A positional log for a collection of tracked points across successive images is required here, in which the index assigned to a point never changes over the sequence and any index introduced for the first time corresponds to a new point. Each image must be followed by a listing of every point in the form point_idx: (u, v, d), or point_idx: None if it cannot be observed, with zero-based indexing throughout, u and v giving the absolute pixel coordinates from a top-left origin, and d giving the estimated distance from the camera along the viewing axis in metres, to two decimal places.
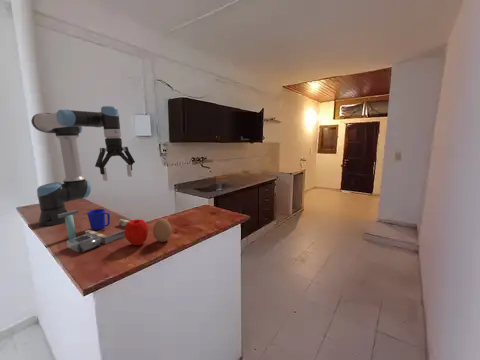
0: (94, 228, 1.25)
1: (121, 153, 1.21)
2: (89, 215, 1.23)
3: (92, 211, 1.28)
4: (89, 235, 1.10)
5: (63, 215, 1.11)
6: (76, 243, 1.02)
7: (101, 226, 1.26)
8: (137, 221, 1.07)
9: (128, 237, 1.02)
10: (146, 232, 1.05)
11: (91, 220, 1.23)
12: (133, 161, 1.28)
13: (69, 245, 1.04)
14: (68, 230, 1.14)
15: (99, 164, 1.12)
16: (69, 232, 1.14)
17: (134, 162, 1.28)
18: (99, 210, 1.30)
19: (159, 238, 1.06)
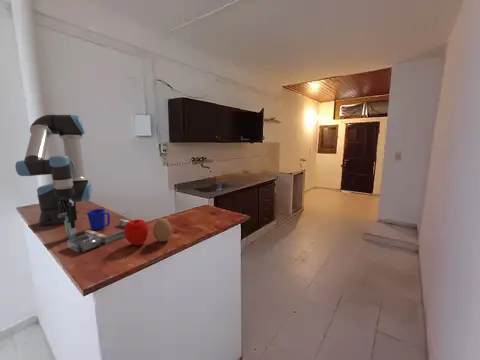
0: (94, 228, 1.25)
1: (64, 205, 1.11)
2: (89, 215, 1.23)
3: (92, 211, 1.28)
4: (89, 235, 1.10)
5: (63, 215, 1.11)
6: (76, 243, 1.02)
7: (101, 226, 1.26)
8: (137, 221, 1.07)
9: (128, 237, 1.02)
10: (146, 232, 1.05)
11: (91, 220, 1.23)
12: (70, 219, 1.11)
13: (69, 245, 1.04)
14: (68, 230, 1.14)
15: None
16: (69, 232, 1.14)
17: (70, 221, 1.11)
18: (99, 210, 1.30)
19: (159, 238, 1.06)
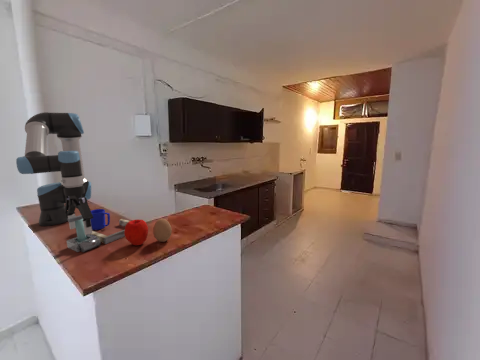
0: (94, 228, 1.25)
1: (75, 205, 1.01)
2: None
3: (92, 211, 1.28)
4: (89, 235, 1.10)
5: (73, 219, 1.02)
6: (76, 243, 1.02)
7: (101, 226, 1.26)
8: (137, 221, 1.07)
9: (128, 237, 1.02)
10: (146, 232, 1.05)
11: (91, 220, 1.23)
12: (85, 218, 0.99)
13: (69, 245, 1.04)
14: (79, 236, 1.04)
15: (65, 211, 1.08)
16: (80, 238, 1.05)
17: (86, 219, 0.99)
18: (99, 210, 1.30)
19: (159, 238, 1.06)
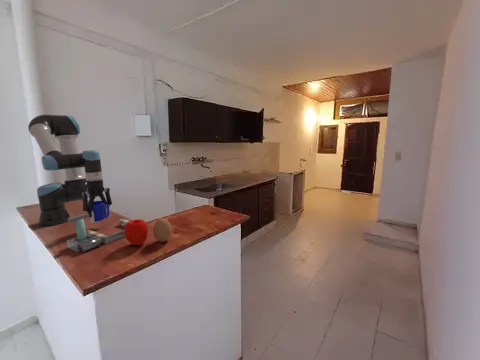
0: None
1: (101, 194, 1.25)
2: None
3: None
4: (89, 235, 1.10)
5: (73, 219, 1.02)
6: (76, 243, 1.02)
7: (100, 218, 1.26)
8: (137, 221, 1.07)
9: (128, 237, 1.02)
10: (146, 232, 1.05)
11: None
12: (110, 203, 1.30)
13: (69, 245, 1.04)
14: (79, 235, 1.04)
15: (86, 209, 1.20)
16: (80, 238, 1.05)
17: (111, 204, 1.31)
18: (99, 202, 1.30)
19: (159, 238, 1.06)
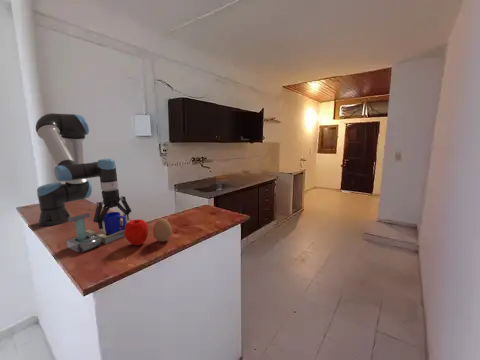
0: (109, 232, 1.18)
1: (118, 204, 1.19)
2: (104, 219, 1.17)
3: (107, 214, 1.22)
4: (89, 235, 1.10)
5: (74, 219, 1.02)
6: (76, 243, 1.02)
7: (116, 230, 1.20)
8: (137, 221, 1.07)
9: (128, 237, 1.02)
10: (146, 232, 1.05)
11: (106, 224, 1.17)
12: (129, 210, 1.26)
13: (69, 245, 1.04)
14: (79, 235, 1.04)
15: (97, 220, 1.11)
16: (80, 238, 1.05)
17: (130, 211, 1.26)
18: (114, 213, 1.24)
19: (159, 238, 1.06)
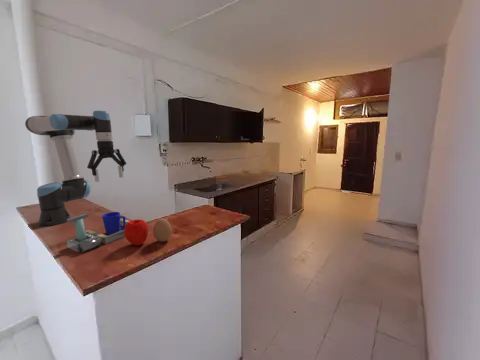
0: (109, 232, 1.18)
1: (112, 155, 1.27)
2: (104, 219, 1.17)
3: (107, 214, 1.22)
4: (89, 235, 1.10)
5: (73, 220, 1.02)
6: (76, 243, 1.02)
7: (116, 230, 1.20)
8: (137, 221, 1.07)
9: (128, 237, 1.02)
10: (146, 232, 1.05)
11: (106, 224, 1.17)
12: (124, 163, 1.33)
13: (69, 245, 1.04)
14: (78, 236, 1.04)
15: (91, 166, 1.18)
16: (80, 238, 1.04)
17: (125, 164, 1.34)
18: (114, 213, 1.24)
19: (159, 238, 1.06)
